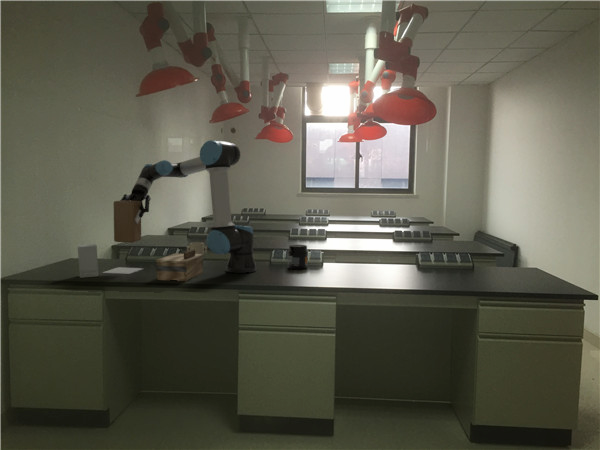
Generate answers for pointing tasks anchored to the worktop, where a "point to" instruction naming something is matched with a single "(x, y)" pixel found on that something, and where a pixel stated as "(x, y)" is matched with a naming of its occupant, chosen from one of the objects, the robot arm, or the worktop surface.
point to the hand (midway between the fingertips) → (125, 221)
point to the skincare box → (88, 260)
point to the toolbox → (179, 270)
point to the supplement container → (297, 257)
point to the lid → (181, 257)
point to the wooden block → (126, 221)
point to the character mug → (197, 247)
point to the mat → (123, 270)
